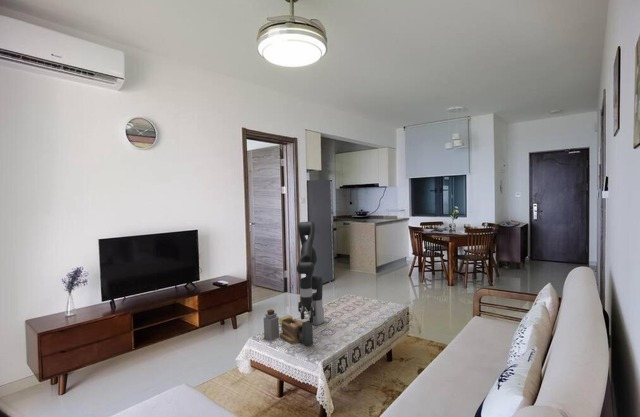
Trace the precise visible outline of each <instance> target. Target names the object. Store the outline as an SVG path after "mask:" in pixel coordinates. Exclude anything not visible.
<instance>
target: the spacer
mask: <svg viewBox="0 0 640 417" xmlns="http://www.w3.org/2000/svg"><path fill="white" fill-rule="evenodd" d="M293 319H294V317H293V316H292V315H284V316H282V317H279V326H281V325H282V323H283V322H285V323H287V324H290V323H291V324H292V320H293Z"/></svg>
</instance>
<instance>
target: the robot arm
mask: <svg viewBox="0 0 640 417" xmlns="http://www.w3.org/2000/svg"><path fill="white" fill-rule="evenodd" d="M297 230H298V235H299V240H300V245H301V248H300V257H299V259H298V262H297V265H296V272H297V274H299V275H305V276H304V277H301V278H300V280H299V285H300V286H299V288H300V289H299V302H298V304H297V306H298V310H297V311H298V313H300V320H301V321H302V320H305V317H306V316H305V313H306V314H307V315H308V321H309V323H312V324H313V326H314V325H315V326H317V325H319V326H320V325H322V324H323V323H325V311H324V307H323V285H324V284H323V282H324V281H323V277H322V276H318V275H317V276H316V275H315V276H314V275H313V274H314V271H315V266H316V263H317V261H318V258H317V251H316V249H315V248H314V247H313V245H314V239H315V233H316V224H315V223H314V221H309V220H308V221H300V222H298V223H297ZM306 236H308V237H307V238H306ZM313 290H315V292H313Z"/></svg>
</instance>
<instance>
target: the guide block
mask: <svg viewBox="0 0 640 417" xmlns="http://www.w3.org/2000/svg"><path fill="white" fill-rule="evenodd" d="M302 322H304V321H302V320H298V319H295V318H293V320H292V323H291V324H287V323H285V322H283V323H282V330H281V332H282V333H279V338H280V339H282V340H283V341H285V342H286V343H288V344H290V345H294V344H297V343H299V342H302V341H301V340H299V339H298V338H297V328H301V329H302Z"/></svg>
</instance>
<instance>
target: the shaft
mask: <svg viewBox="0 0 640 417" xmlns="http://www.w3.org/2000/svg"><path fill="white" fill-rule="evenodd" d="M290 324H292V323H290ZM280 326H281V327H280V328H281V331H282V325H280ZM313 326H314V325H313V324H312V323H309V320H306V321H303V322H302V329H301V328H297V338H298V339H299V340H301V341H300V342H302V345H303V346H305V347H309V346H311V345H313V344H314V330H313Z"/></svg>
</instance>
